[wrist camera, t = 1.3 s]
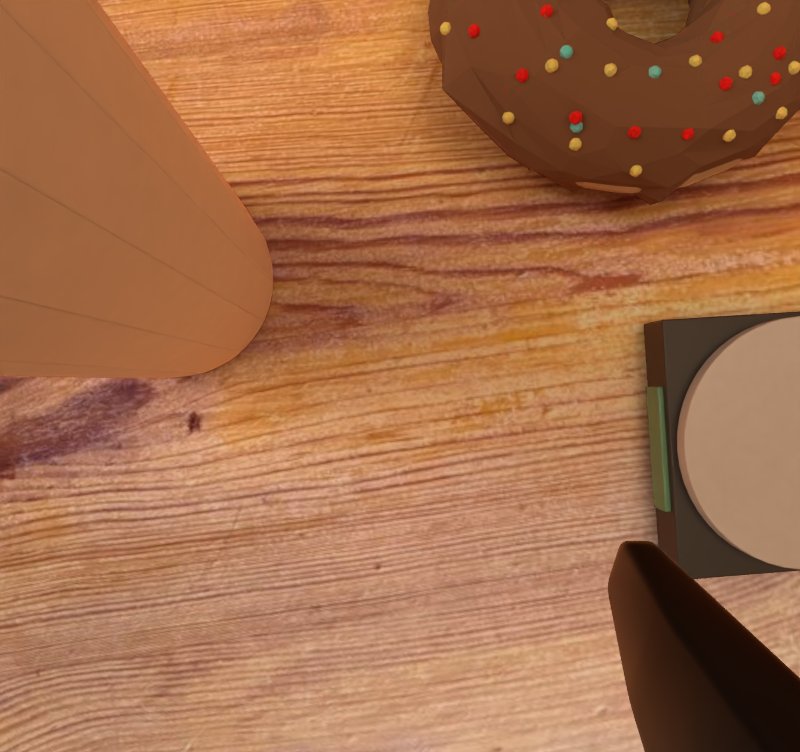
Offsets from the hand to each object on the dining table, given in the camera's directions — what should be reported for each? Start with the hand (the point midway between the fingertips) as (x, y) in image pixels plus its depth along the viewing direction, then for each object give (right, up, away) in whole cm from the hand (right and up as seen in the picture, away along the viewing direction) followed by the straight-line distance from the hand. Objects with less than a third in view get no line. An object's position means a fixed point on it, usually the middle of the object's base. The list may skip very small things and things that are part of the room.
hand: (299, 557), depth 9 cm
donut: (+9, +15, +15) cm, 23 cm away
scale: (+15, 0, +15) cm, 22 cm away
